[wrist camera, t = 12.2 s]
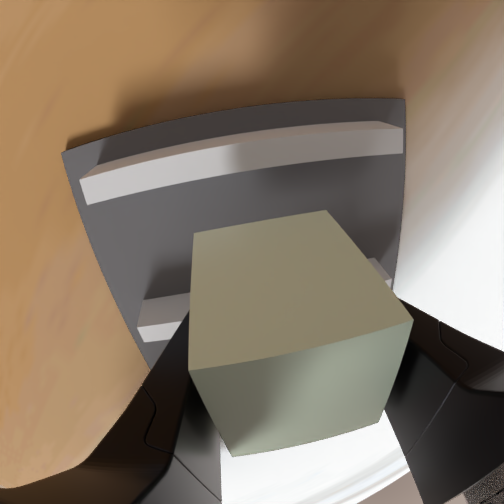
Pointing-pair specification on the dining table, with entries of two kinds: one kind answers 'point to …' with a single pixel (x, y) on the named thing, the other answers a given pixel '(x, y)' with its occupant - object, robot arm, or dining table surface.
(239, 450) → the sage block
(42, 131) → the dining table surface
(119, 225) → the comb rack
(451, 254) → the dining table surface
